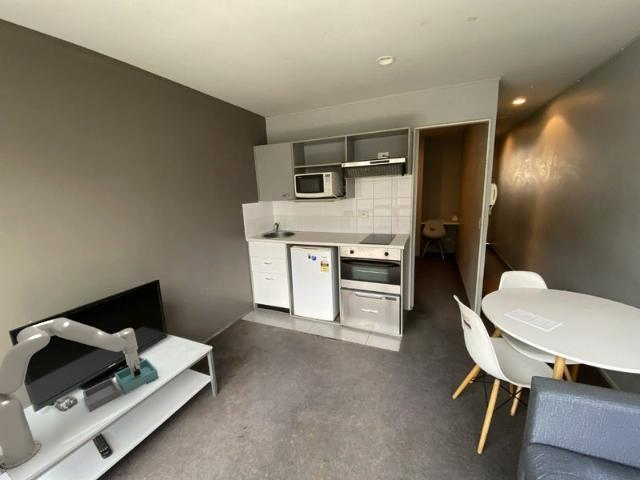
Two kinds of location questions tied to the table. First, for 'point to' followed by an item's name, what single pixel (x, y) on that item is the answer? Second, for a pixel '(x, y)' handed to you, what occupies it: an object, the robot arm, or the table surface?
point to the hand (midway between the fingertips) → (136, 373)
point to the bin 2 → (130, 382)
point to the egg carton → (67, 402)
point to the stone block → (133, 370)
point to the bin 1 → (101, 394)
